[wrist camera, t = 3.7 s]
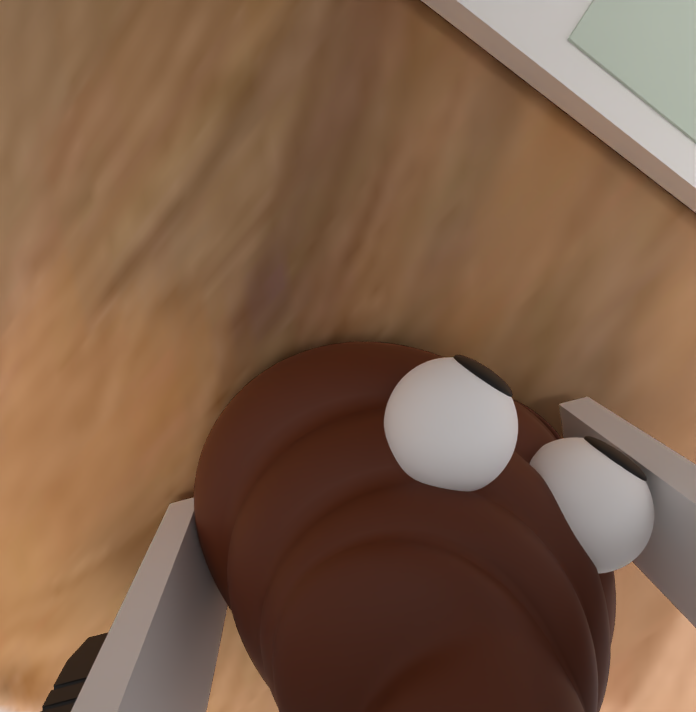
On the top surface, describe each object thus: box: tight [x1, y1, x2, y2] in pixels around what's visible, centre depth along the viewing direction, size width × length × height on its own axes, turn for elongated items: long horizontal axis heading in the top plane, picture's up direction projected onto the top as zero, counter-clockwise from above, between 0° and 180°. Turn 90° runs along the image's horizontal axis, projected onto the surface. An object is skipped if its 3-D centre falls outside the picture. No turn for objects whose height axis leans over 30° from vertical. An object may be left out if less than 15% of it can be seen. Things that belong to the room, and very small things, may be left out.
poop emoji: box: [194, 342, 654, 712], centre depth 10 cm, size 10×8×9 cm
